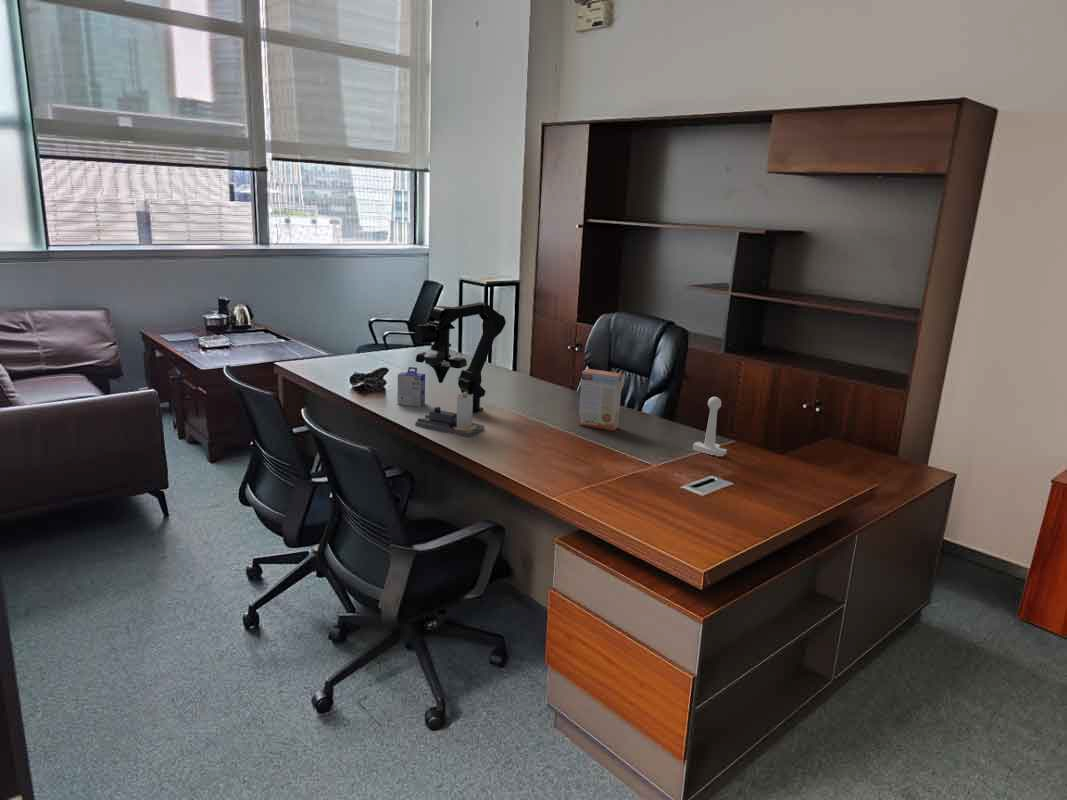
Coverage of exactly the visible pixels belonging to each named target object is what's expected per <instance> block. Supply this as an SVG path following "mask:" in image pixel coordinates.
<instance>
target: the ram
mask: <svg viewBox="0 0 1067 800" xmlns="http://www.w3.org/2000/svg"><path fill="white" fill-rule="evenodd" d="M428 415H429V420H432V421H437V422H442V423H448V424H450V425H454V424H456V423H457V412H456V413H455V412H452V411H446V410H445V411H444V410H441V407H440V406H435V407H434V408H433V409H432V410H430V411H429V413H428Z"/></svg>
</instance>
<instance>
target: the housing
mask: <svg viewBox="0 0 1067 800" xmlns="http://www.w3.org/2000/svg"><path fill="white" fill-rule="evenodd" d="M456 400H457V401H456V413H457V428H467V429H471V427H472V423H473V395H468V392H463V393H458V395H457V399H456Z"/></svg>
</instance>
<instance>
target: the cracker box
mask: <svg viewBox="0 0 1067 800" xmlns="http://www.w3.org/2000/svg"><path fill="white" fill-rule="evenodd" d="M580 380H581V381H580V382H581V383H580V394H579V395H580V396H579V397H580V398H579V408H578V409H579V411H578V412H579V413H578V426H582V427H589V428H595V429H600V430H605V431H606V430H607V431H611V432H613V431H615V430H616V429H618V428H619V420H620V409H621V408H620V407H621V398H622V397H621V396H622V384H623V383H622V381H623V373H620V372H612V371H608V370H607V371H606V370H600V369H599V370H598V369H593V368H586V369H585V370H582V371H581V379H580Z"/></svg>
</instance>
